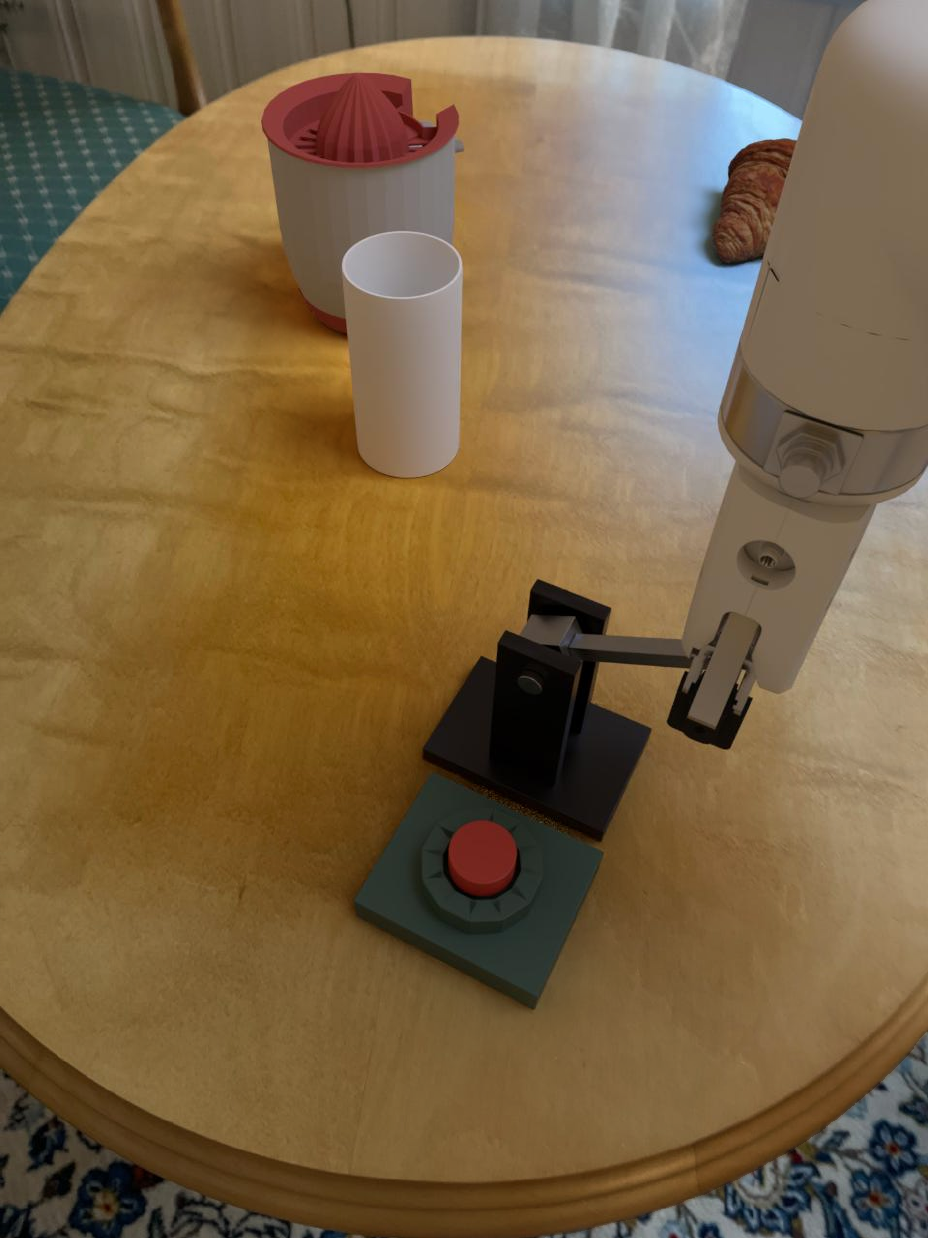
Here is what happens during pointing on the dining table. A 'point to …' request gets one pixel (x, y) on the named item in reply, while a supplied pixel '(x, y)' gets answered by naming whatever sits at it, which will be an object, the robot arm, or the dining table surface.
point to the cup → (405, 350)
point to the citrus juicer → (355, 175)
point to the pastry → (751, 199)
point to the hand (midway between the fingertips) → (718, 687)
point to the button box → (473, 925)
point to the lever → (605, 644)
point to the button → (482, 858)
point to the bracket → (542, 725)
